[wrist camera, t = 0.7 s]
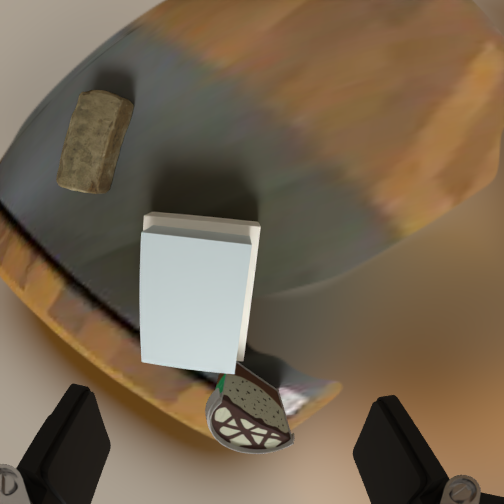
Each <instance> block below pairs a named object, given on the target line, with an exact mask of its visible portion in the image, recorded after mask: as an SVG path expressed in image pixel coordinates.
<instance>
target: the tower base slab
mask: <svg viewBox="0 0 504 504" xmlns="http://www.w3.org/2000/svg"><path fill="white" fill-rule="evenodd" d="M152 225H157V226H167V227H176V228H185V229H194V230H202V231H211V232H220V233H228V234H237V235H245V236H250V239H251V243H252V248H251V255H250V263H249V270H248V278H247V285H246V292H245V300H244V307H243V315H242V322H241V329H240V337H239V344H238V352H237V359H236V361H244V354H245V346H246V338H247V329H248V323H249V315H250V307H251V299H252V291H253V283H254V276H255V268H256V260H257V252H258V244H259V236H260V228H261V227H260V225H259V223H258V222H255V221H246V220H237V219H227V218H217V217H207V216H197V215H186V214H175V213H163V212H151V213H149V214H146V215H144V223H143V231H144V230H146V229H147V228H149V227H151V226H152Z"/></svg>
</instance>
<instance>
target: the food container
mask: <svg viewBox="0 0 504 504" xmlns="http://www.w3.org/2000/svg"><path fill="white" fill-rule="evenodd" d="M205 412H206V419H207V424H208V427H209V429H210V431H211V433H212V435H213V436H214V437H215V439H216V440H217V441H218V442H220V443H221V444H222V445H224V446H226V447H227V448H230V449H232V450H235V451H238V452H242V453H249V454H263V453H270V452H275V451H279V450H282V449H284V448H286V447H288V446H290V445H292V444H294V442H293V441H294V433H293V434H291V431H290V428H289V424H288V421H287V418H286V414H285V411H284V407H283V404H282V400H281V397H280V394H279V390H277V389H276V388H274V387H273V386H272V385H270V384H269V383H267V382H266V381H264V380H263V379H261V378H260V377H259V376H257V375H256V374H254V373H253V372H251V371H250V370H249V369H247V368H246V367H244V366H243V365H242V364H240V363H239V362H238V361H236V366H235V374H226V373H219V376H218V381H217V385H216V390H215V391H214V392H213V393H212V394H211V396H210V397H209V399H208V401H207V403H206V409H205Z"/></svg>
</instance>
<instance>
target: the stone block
mask: <svg viewBox="0 0 504 504" xmlns="http://www.w3.org/2000/svg"><path fill="white" fill-rule="evenodd" d="M133 108H134V105H133V104H132V103H131V102H130V101H129V100H128V99H125V98H122V97H120V96H118V95H116V94H112V93H110V92H108V91H103V90H91V91H88V92H82V93H81V94H80V95H79V99H78V103H77V106H76V109H75V111H74V112H73V114H72V117H71V121H70V125H69V128H68V131H67V135H66V138H65V142H64V146H63V150H62V154H61V159H60V165H59V169H58V173H57V179H56V180H57V183H58V184H59V186H61V187H63V188H68V189H70V190H74V191H80V192H85V193H94V194H99V193H106V192H107V191H109V190H110V187H111V183H112V180H113V175H114V171H115V167H116V163H117V160H118V156H119V152H120V147H121V145H122V143H123V139H124V136H125V133H126V130H127V128H128V126H129V123H130V120H131V117H132V112H133Z"/></svg>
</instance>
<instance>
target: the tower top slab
mask: <svg viewBox="0 0 504 504" xmlns="http://www.w3.org/2000/svg"><path fill="white" fill-rule="evenodd" d="M251 248H252V243H251V239H250V236H245V235H237V234H228V233H220V232H211V231H202V230H194V229H185V228H176V227H167V226H157V225H152V226H151V227H149V228H147V229H146V230H144V231H143V232H141V253H140V336H141V357H142V362H145V363H151V364H157V365H163V366H170V367H176V368H183V369H191V370H199V371H207V372H216V373H226V374H235V366H236V359H237V352H238V344H239V337H240V329H241V322H242V315H243V307H244V300H245V292H246V285H247V278H248V270H249V263H250V255H251Z"/></svg>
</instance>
